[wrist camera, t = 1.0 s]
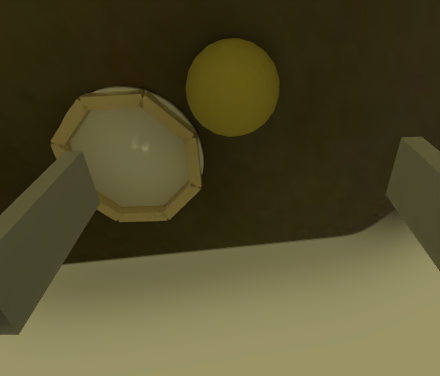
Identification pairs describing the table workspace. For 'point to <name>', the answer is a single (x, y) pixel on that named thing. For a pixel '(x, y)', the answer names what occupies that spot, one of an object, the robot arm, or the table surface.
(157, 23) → the table surface
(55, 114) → the table surface
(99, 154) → the socket base
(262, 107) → the light bulb
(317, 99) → the table surface
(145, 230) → the table surface
